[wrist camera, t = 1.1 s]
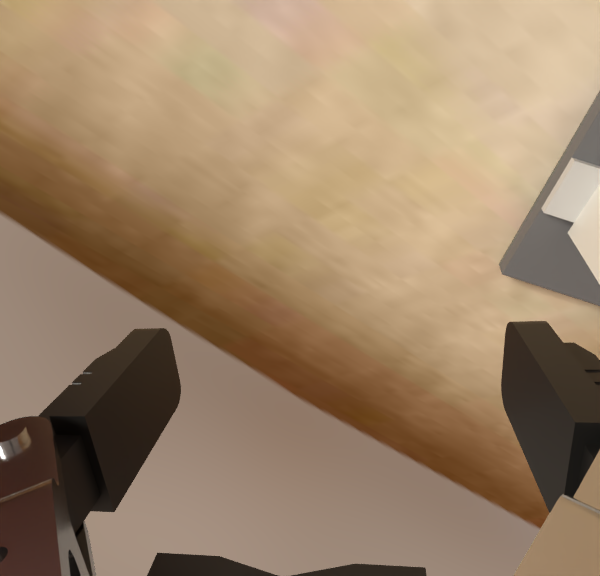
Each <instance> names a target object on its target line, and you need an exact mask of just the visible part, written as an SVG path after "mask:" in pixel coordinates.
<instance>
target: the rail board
mask: <svg viewBox="0 0 600 576" xmlns="http://www.w3.org/2000/svg"><path fill="white" fill-rule="evenodd" d="M499 266H500V269H501V272H502V274H503V275H506V276H509V277H512V278H515V279H518V280H521V281H524V282H528V283H531V284H534V285H537V286H540V287H543V288H546V289H549V290H552V291H555V292H558V293H561V294H564V295H568V296H571V297H574V298H577V299H580V300H583V301H586V302H589V303H592V304H595V305H598V306H600V92H599V93H598V95H597V97H596V99H595V100H594V102H593V104H592V105H591V107H590V109H589V111H588V112H587V114H586V116H585V117H584V119H583V121H582V123H581V124H580V126H579V128H578V129H577V131H576V133H575V135H574V136H573V138H572V140H571V141H570V143H569V145H568V147H567V148H566V150H565V152H564V153H563V155H562V157H561V159H560V160H559V162H558V164H557V165H556V167H555V169H554V171H553V172H552V174H551V176H550V177H549V179H548V181H547V183H546V184H545V186H544V188H543V189H542V191H541V193H540V195H539V196H538V198H537V200H536V201H535V203H534V205H533V207H532V208H531V210H530V212H529V213H528V215H527V217H526V219H525V220H524V222H523V224H522V225H521V227H520V229H519V231H518V232H517V234H516V236H515V237H514V239H513V241H512V243H511V244H510V246H509V248H508V249H507V251H506V253H505V255H504V256H503V258H502V260H501V262H500V263H499Z"/></svg>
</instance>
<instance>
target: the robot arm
mask: <svg viewBox="0 0 600 576" xmlns="http://www.w3.org/2000/svg"><path fill="white" fill-rule="evenodd" d="M501 389H502V399H503V404H504V408H505V411H506V413H507V416H508V418H509V420H510V423H511V425H512V427H513V429H514V432H515V434H516V436H517V439H518V441H519V443H520V446H521V448H522V450H523V453H524V455H525V457H526V459H527V462H528V464H529V466H530V469H531V471H532V473H533V476H534V478H535V480H536V483H537V485H538V487H539V489H540V492H541V494H542V496H543V499H544V501H545V503H546V506H547V508H548V510H549V513H550V514H549V516H548V517H547V519H546V521H545V522H544V524H543V526H542V528H541V529H540V531H539V533H538V534H537V536H536V538H535V540H534V541H533V543H532V545H531V546H530V548H529V550H528V552H527V553H526V555H525V557H524V558H523V560H522V562H521V564H520V565H519V567H518V569H517V570H516V572H515V574H514V576H600V360H599V359H598V358H597V357H596V355H594V354H593V353H591V352H589V351H587V350H586V349H584V348H582V347H580V346H579V345H577V344H575V343H563V342H562V340H561V339H560V338H559V337H558V335H557V334H556V333H555V332H554V330H553V329H552V328H551V326H550V325H549V324H548V323H547V322H546V321H527V322H509V323H508V324H507V327H506V333H505V345H504V357H503V369H502V382H501ZM180 394H181V386H180V379H179V374H178V369H177V365H176V360H175V356H174V351H173V346H172V341H171V337H170V334H169V332H168V331H167V330H166V329H164V328H159V329H134V330H133V331H132V332H131V333H130V334H129V335H128V336H127V337H126V338H125V339H124V340H123V341H122V342H121V343H120V344H119V345H118V346H117V347H116V348H115V349H112V350H111V351H109V352H107V353H106V354H104V355H102V356H100V357H99V358H97V359H96V360H94V361H93V362H92V363H91V364H90V365H89V366H88V367H87V368H86V369H85V370H84V371H83V374H81V375H79V376H78V377H77V378H76V379H75V380H74V381H73V382H72V385H69V386H68V387H67V388H66V389H65V390H64V391H63V392H62V393H61V394H60V395H59V396H58V397H57V398H56V399H55V400H54V401H53V402H52V403H51V404H50V405H49V406H48V407H47V408H46V409H45V410H44V411H43V412H42V413H41V414H40V415H39V416H29V417H22V418H18V419H14V420H11V421H8V422H6V423H3V424H1V425H0V576H96V572H95V566H94V561H93V555H92V551H91V544H90V539H89V534H88V530H87V527H86V524H85V521H84V520H85V518H86V517H87V515H88V514H89V512H90V511H102V512H115V510H116V508H117V507H118V505H119V503H120V502H121V500H122V498H123V497H124V495H125V493H126V492H127V490H128V488H129V487H130V485H131V483H132V482H133V480H134V478H135V477H136V475H137V473H138V472H139V470H140V468H141V467H142V465H143V463H144V462H145V460H146V458H147V457H148V455H149V453H150V452H151V450H152V448H153V447H154V445H155V443H156V442H157V440H158V438H159V437H160V435H161V433H162V432H163V430H164V428H165V427H166V425H167V423H168V422H169V420H170V418H171V417H172V415H173V413H174V412H175V410H176V408H177V406H178V404H179V400H180ZM147 576H277V575H274V574H271V573H268V572H265V571H262V570H259V569H256V568H253V567H250V566H247V565H244V564H241V563H238V562H234V561H232V560H229V559H226V558H223V557H220V556H205V555H186V554H169V553H157V555H156V557H155V560H154V562H153V564H152V566H151V568H150V571H149V573H148V575H147ZM292 576H426V569H425V568H423V567H403V566H386V565H368V564H351V565H347V566H340V567H335V568H330V569H325V570H319V571H314V572H308V573H303V574H298V575H292Z"/></svg>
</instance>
